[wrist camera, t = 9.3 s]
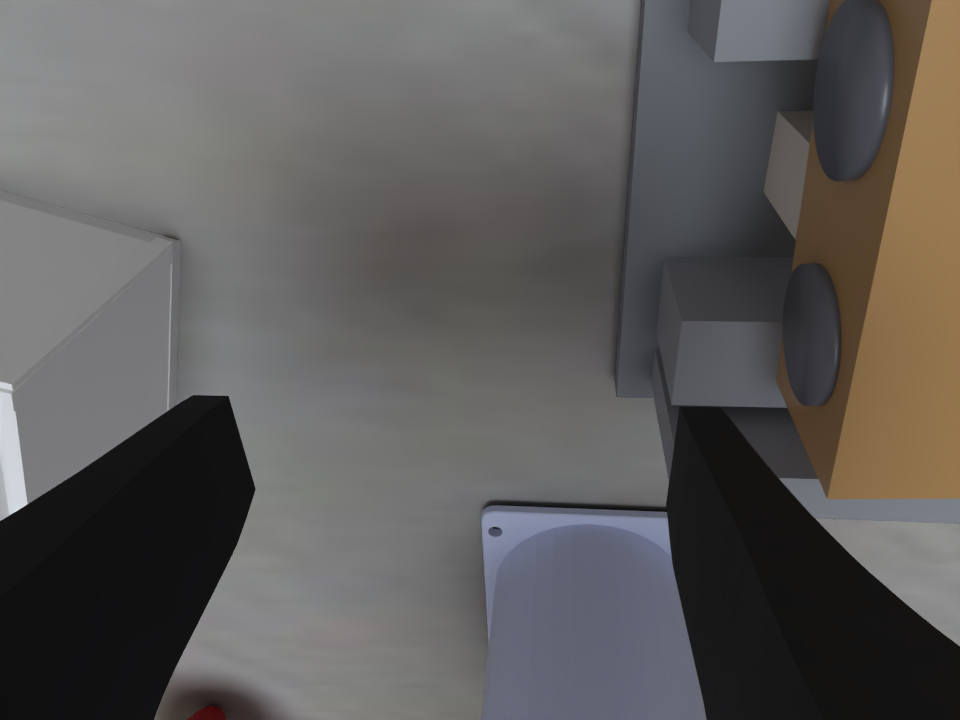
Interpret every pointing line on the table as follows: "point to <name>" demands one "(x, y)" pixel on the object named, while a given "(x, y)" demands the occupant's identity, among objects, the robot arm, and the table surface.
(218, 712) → the strawberry
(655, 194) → the display stand
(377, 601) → the table surface
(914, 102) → the orange-brown rectangular block
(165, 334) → the butter dish
